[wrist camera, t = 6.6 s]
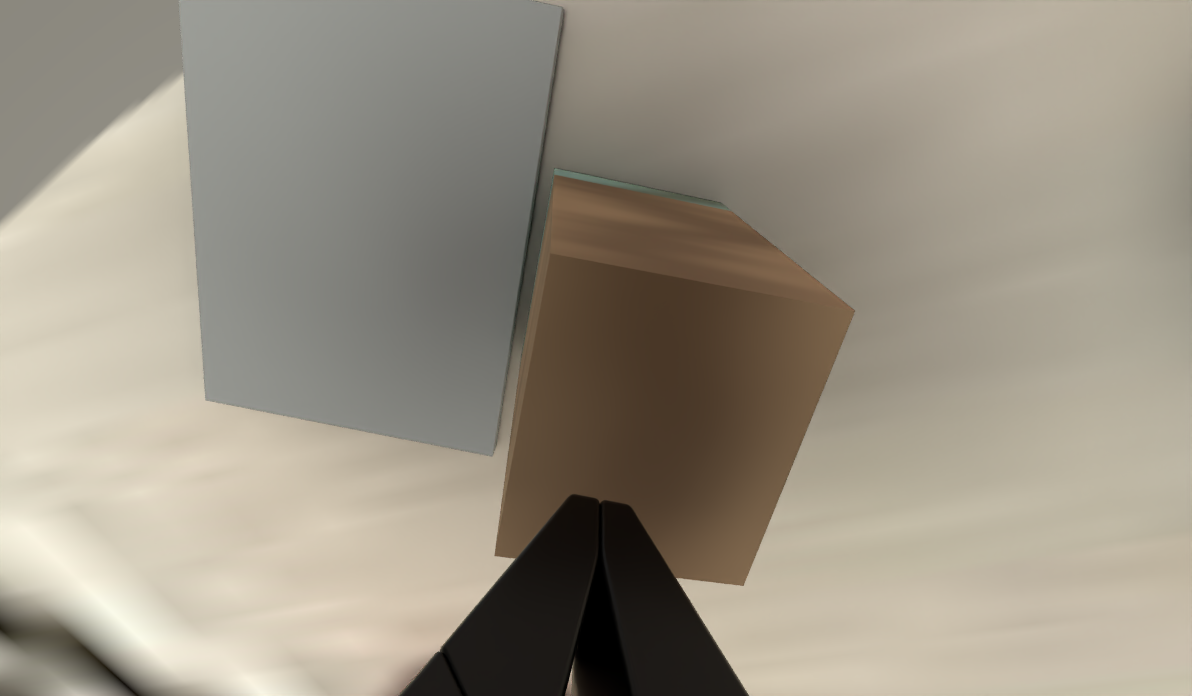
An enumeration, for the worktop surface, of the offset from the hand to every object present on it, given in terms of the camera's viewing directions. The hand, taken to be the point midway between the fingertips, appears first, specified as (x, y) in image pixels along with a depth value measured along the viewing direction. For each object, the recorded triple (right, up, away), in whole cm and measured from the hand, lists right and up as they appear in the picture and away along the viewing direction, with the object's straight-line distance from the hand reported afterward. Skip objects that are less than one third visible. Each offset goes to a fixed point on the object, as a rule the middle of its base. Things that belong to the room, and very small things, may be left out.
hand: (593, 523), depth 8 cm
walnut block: (+1, +5, +10) cm, 11 cm away
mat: (-7, +6, +10) cm, 14 cm away
